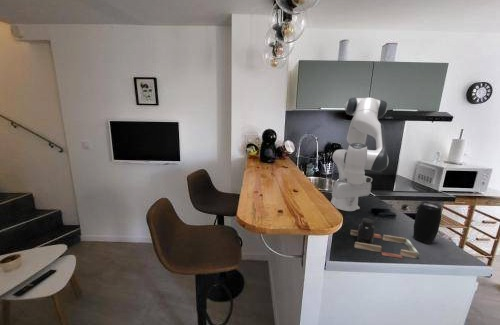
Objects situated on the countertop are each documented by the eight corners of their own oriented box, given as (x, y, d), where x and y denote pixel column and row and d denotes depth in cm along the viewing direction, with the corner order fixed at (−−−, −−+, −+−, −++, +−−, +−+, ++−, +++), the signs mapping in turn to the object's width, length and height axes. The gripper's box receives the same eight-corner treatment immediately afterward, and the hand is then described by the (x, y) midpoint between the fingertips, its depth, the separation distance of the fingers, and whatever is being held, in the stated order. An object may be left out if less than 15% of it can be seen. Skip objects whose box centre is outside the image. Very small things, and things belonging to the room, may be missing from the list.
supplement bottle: (358, 236, 108) (361, 215, 105) (373, 242, 104) (377, 220, 101) (355, 242, 103) (358, 220, 100) (370, 248, 99) (374, 225, 96)
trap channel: (349, 230, 114) (349, 226, 114) (403, 238, 107) (404, 234, 107) (355, 250, 97) (356, 245, 97) (420, 262, 90) (422, 257, 90)
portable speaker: (408, 233, 112) (415, 199, 108) (429, 237, 109) (437, 202, 105) (415, 242, 104) (423, 206, 100) (438, 246, 101) (447, 209, 97)
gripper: (340, 181, 92) (336, 210, 95) (375, 178, 99) (370, 205, 102) (330, 177, 98) (327, 205, 101) (364, 174, 105) (360, 200, 108)
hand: (349, 205), depth 102 cm, fingers closed
